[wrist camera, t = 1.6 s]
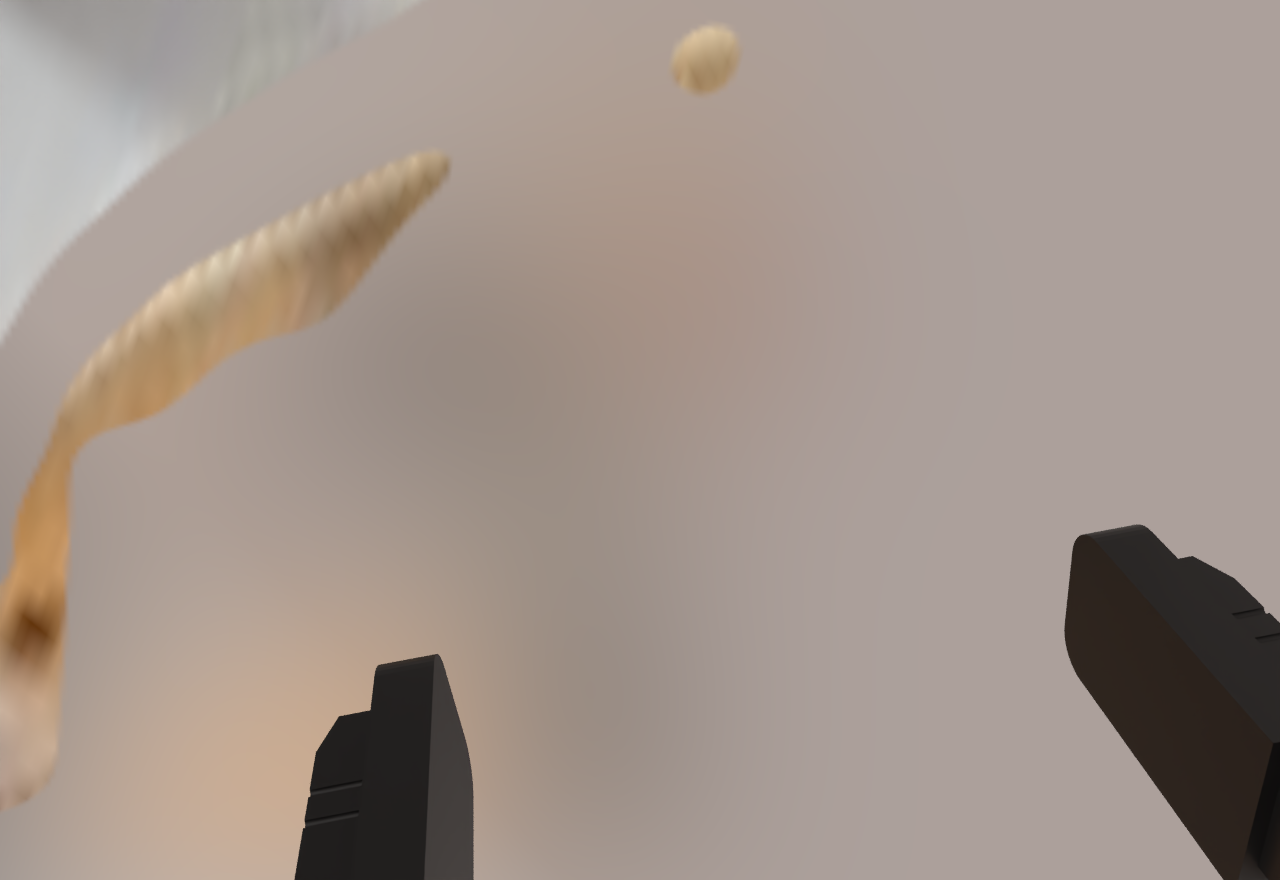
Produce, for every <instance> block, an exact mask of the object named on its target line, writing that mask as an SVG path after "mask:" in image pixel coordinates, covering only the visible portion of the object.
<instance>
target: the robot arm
mask: <svg viewBox="0 0 1280 880" xmlns="http://www.w3.org/2000/svg"><path fill="white" fill-rule="evenodd" d="M1064 631H1065V641H1066V647H1067V651H1068V655H1069V658H1070V661H1071V663H1072V666H1073V668H1074V670H1075V672H1076V674H1077V676H1078V677H1079V679H1080V680H1081V682H1082V683H1083V684H1084V686H1085V687H1086V688H1087V690H1088V691H1089V693H1090V694H1091V695H1092V697H1093V698H1094V700H1095V701H1096V703H1097V704H1098V705H1099V707H1100V708H1101V709H1102V711H1103V712H1104V714H1105V715H1106V716H1107V718H1108V719H1109V721H1110V722H1111V723H1112V725H1113V726H1114V728H1115V729H1116V730H1117V732H1118V733H1119V734H1120V736H1121V737H1122V739H1123V740H1124V742H1125V743H1126V744H1127V746H1128V747H1129V749H1130V750H1131V751H1132V753H1133V754H1134V756H1135V757H1136V758H1137V760H1138V761H1139V762H1140V764H1141V765H1142V766H1143V768H1144V769H1145V771H1146V772H1147V774H1148V775H1149V777H1150V778H1151V779H1152V781H1153V782H1154V784H1155V785H1156V786H1157V788H1158V789H1159V791H1160V792H1161V793H1162V795H1163V796H1164V797H1165V799H1166V800H1167V802H1168V803H1169V804H1170V806H1171V807H1172V808H1173V810H1174V811H1175V813H1176V814H1177V816H1178V817H1179V818H1180V820H1181V821H1182V823H1183V824H1184V825H1185V827H1186V828H1187V830H1188V831H1189V832H1190V834H1191V835H1192V836H1193V838H1194V839H1195V841H1196V842H1197V844H1198V845H1199V846H1200V848H1201V849H1202V850H1203V852H1204V853H1205V855H1206V856H1207V857H1208V859H1209V860H1210V862H1211V863H1212V864H1213V866H1214V867H1215V869H1216V870H1217V871H1218V873H1219V874H1220V876H1221V877H1222V878H1223V880H1280V623H1279V622H1278V621H1277V620H1276V619H1275V618H1274V617H1273V616H1272V615H1271V614H1270V613H1268V614H1266V613H1265V611H1264V607H1263V606H1262V605H1261V604H1260V603H1259V602H1258V601H1257V600H1256V599H1255V598H1254V597H1253V596H1252V595H1251V594H1250V593H1249V592H1248V591H1247V590H1246V589H1245V588H1244V587H1243V586H1241V584H1240V583H1239V582H1237V581H1236V580H1235V579H1234V578H1233V577H1231V576H1229V575H1227V574H1225V573H1223V572H1221V571H1219V570H1218V569H1216V568H1214V567H1212V566H1210V565H1208V564H1206V563H1204V562H1202V561H1201V560H1199V559H1197V558H1195V557H1193V556H1191V557H1185V558H1180V559H1178V558H1177V557H1176V556H1175V555H1174V554H1173V553H1172V552H1171V551H1170V550H1169V549H1168V548H1167V547H1166V546H1165V545H1164V544H1163V543H1162V542H1161V541H1160V540H1159V539H1158V538H1157V537H1156V536H1155V535H1154V534H1153V532H1151V531H1150V530H1149V529H1148V528H1147V527H1145V526H1143V525H1132V526H1127V527H1121V528H1116V529H1111V530H1105V531H1100V532H1094V533H1090V534H1085V535H1081V536H1079V537H1078V538H1077V539H1076V541H1075V543H1074V546H1073V551H1072V562H1071V571H1070V581H1069V589H1068V599H1067V608H1066V618H1065V630H1064ZM471 772H472V771H471V764H470V758H469V753H468V748H467V744H466V740H465V736H464V733H463V729H462V726H461V723H460V719H459V716H458V712H457V709H456V706H455V702H454V699H453V695H452V692H451V689H450V685H449V682H448V678H447V675H446V671H445V668H444V665H443V662H442V660H441V657H440V656H439V655H438V654H435V655H430V656H424V657H419V658H413V659H408V660H403V661H397V662H392V663H387V664H381V665H378V666H377V668H376V671H375V676H374V685H373V694H372V702H371V710H370V711H365V712H360V713H354V714H350V715H344V716H339V717H338V719H337V721H336V722H335V724H334V725H333V727H332V728H331V730H330V731H329V733H328V735H327V736H326V738H325V739H324V741H323V742H322V744H321V745H320V747H319V749H318V750H317V752H316V755H315V761H314V767H313V773H312V779H311V786H310V793H311V796H310V797H309V798H308V804H307V809H306V815H305V828H303V832H302V839H301V844H300V850H299V856H298V862H297V868H296V874H295V880H473V781H472V773H471Z"/></svg>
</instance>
